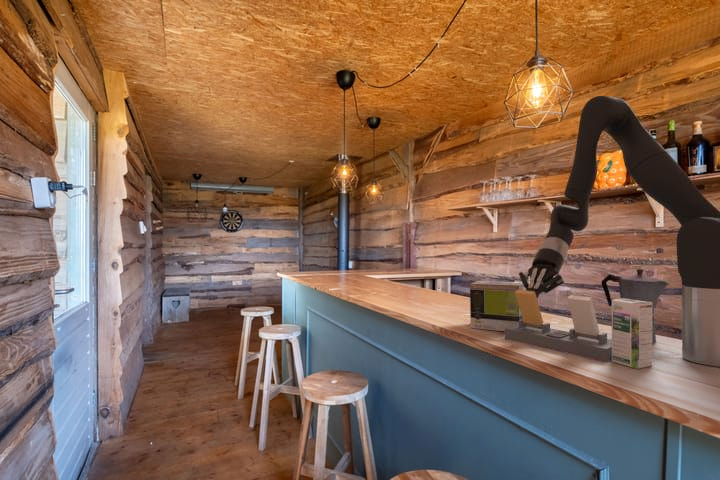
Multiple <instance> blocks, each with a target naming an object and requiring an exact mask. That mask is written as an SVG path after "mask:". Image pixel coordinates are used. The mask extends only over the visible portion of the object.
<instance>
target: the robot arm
mask: <svg viewBox="0 0 720 480" xmlns="http://www.w3.org/2000/svg"><path fill="white" fill-rule="evenodd" d="M603 132H605V133H607V134H608V135H609V136H610V137H611V138H612V140H614V141H615V143H616V144H617V145H618V146H619V148H620V150H621V154H622V158H623V159H622V160H623V162H624V166H625V169H626V171H627V172H628V174H629V176H630V177H631V178H632V179H633V181H634V182H635V184H636V185H637V186H638V187H639V188H640V189H641V190H642V191H643V192H644V193H645V194H646V195H647V196H649V197H650V198H651V199H653V200H654V201H655V202H657V203H658V204H660V205H661V206H662V207H664V208H665V209H666V210H667V211H669V213H670V214H672V215H673V216H674V218H675V219H676V220H677V221H678V222H679V224H680V225H681V226H680V227H679V229H678V231H677V234H676V242H675V243H676V261H677V262H676V263H677V265H676V266H677V271H678V274H679V276H680V279H681V353H682V355H681V356H682V357H681V358H683V359H684V360H687V361H690V362H693V363H695V364H700V365H705V366H711V367H717V368H719V367H720V210H719V209H717V207H715V206H714V205H713V204H712V203H711V202H710V201H709V200H708V199H707V197H705V196H704V194H702V193H701V191H700V190H699V189H698V187H697V186H696V185H695V183H694V182H693V181H692V179H691V178H690V177H689V176H688V175H687V174H686V172H685V171H684V170H683V169H682V168H681V166H680V165H679V163H678V162H677V161H676V160H675V159H674V158H673V157H672V156H671V155H670V153H669V152H668V151H667V150H666V149H665V148H664V147H663V146H662V145H661V144H660V143H659V141H657V140H656V138H655V137H654V136H653V135H652V134H651V133H650V132H649V131H648V130H647V129H646V128H645V127H644V126H643V124H642V122H641V121H640V119H639V118H638V116H637V115H636V113H635V112H634V110H633V109H632V108H631V106H630V105H629V104H628V102H627V101H626V100H624V99H622V98H619V97H614V96H608V95H596V96H593V97H591V98H590V99H589V100H587V102H586V103H585V104H584V106H583V108H582V110H581V114H580V117H579V125H578V131H577V138H576V145H575V151H574V159H573V163H572V167H571V170H570V173H569V177H568V179H567V183H566V185H565V189H564V197H565V198H566V199H568V200H570V201H573V202H574V203H576V204H577V206H578V208H577V207H574V206H571V205H570V206H569V205H565V204H558V205H556V206H555V207H554V208H553V209H552V210H551V214H550V224H549V230H548V232H547V234H546V236H545V238H544V240H543V242H542V243H541V244H540V246H539V248H538V251H537V252H536V254H535V256H534V259H533V260H532V264H531V266H530V267H529V268H528V270H527V271H526V272H523V271H520V272H519V273H518V276H519V278H520V282H522V283H523V285H524V288H526V290H527V291H534V292H535V294H536V297H537V299H538V298H539V295H541V294H542V293H545V294H547V293H550V292H551V291H552V290H555V289H556V288H558V287H559V286H561V285H562V284H564V282H565V281H564V278H563V277H562V275H561V274H559V273H560V271H561V269H562V267H563V265H564V263H565V260H566V258H567V255H568V253H569V252H568V251H569V249H570V247H571V244H572V243H573V241H574V232H582V231H584V229H586V227H587V225H588V223H589V204H590V198H591V195H592V193H593V192H592V191H593V188H594V186H595V183H596V180H597V176H598V160H597V159H598V158H597V156H598V155H597V154H598V153H597V151H598V144H599V140H600V137H601V135H602V133H603ZM528 279H530V284H528V282H529V281H527V280H528Z"/></svg>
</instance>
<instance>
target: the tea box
mask: <svg viewBox="0 0 720 480" xmlns="http://www.w3.org/2000/svg"><path fill="white" fill-rule="evenodd" d="M520 282H521V281H485V280H476V281H474V282H471V283H469V306H470V307H469V308H470V309H469V310H470V311H469V312H470V315H469V316H470V317H469V318H470V328H471V329H477V330H487V331H497V332H505V328H508V327H512V326H516V325H519V320H522V315H521V312H520V309H519V305H518V302H517V298H516V295H515V292H516V291H517V290H524V288H525V287H524V285H523V283H520Z"/></svg>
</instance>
